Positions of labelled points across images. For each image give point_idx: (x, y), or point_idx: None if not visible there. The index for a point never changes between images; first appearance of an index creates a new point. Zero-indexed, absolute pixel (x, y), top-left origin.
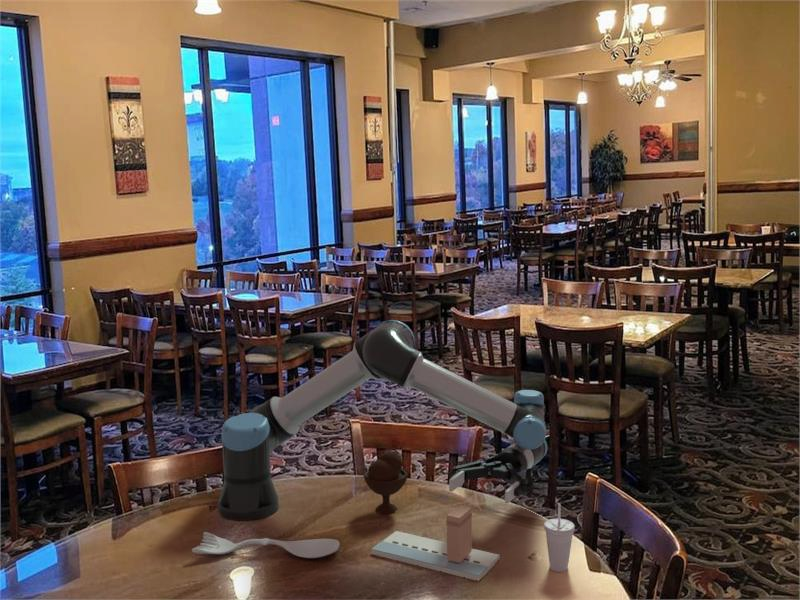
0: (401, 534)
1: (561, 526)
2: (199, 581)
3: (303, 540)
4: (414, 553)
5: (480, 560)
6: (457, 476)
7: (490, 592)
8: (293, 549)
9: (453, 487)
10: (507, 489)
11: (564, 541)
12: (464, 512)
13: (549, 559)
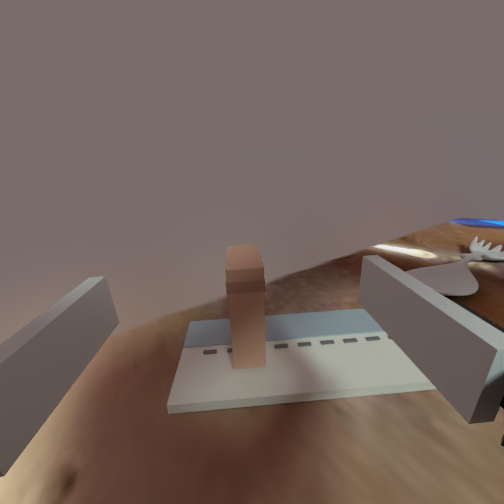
0: None
1: None
2: (418, 242)
3: (474, 282)
4: (326, 323)
5: (205, 361)
6: (397, 280)
7: (167, 317)
8: (440, 268)
9: (365, 296)
10: (89, 286)
11: None
12: (229, 256)
13: None
